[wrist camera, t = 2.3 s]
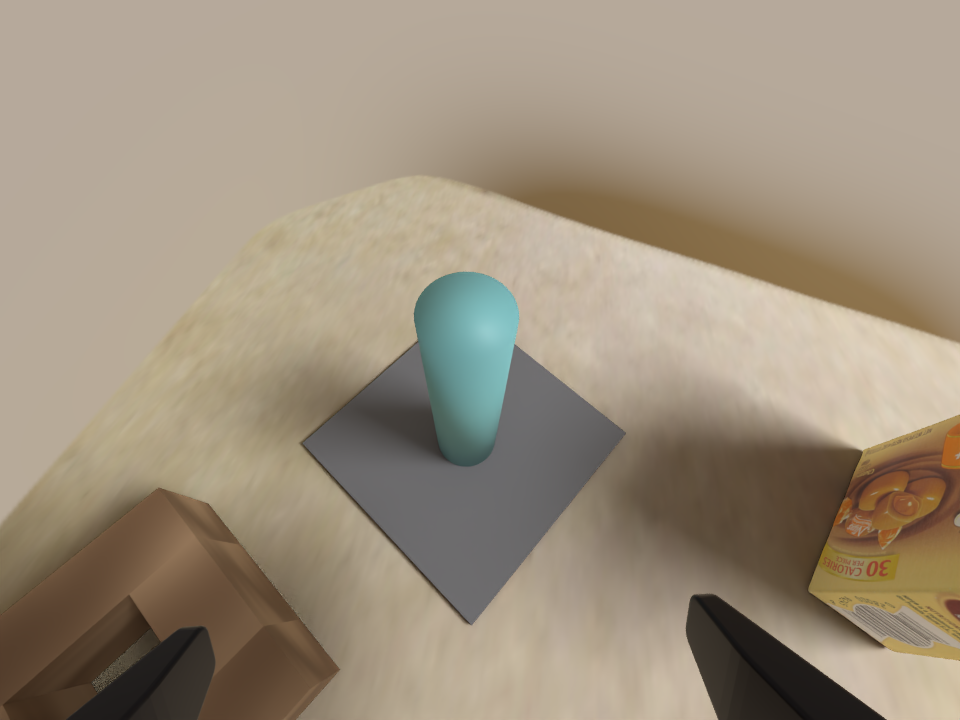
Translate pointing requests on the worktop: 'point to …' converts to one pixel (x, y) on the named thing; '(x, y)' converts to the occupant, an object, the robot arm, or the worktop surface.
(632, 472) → the worktop surface
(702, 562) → the worktop surface
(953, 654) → the candy box
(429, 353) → the peg
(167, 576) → the socket block
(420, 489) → the mat
